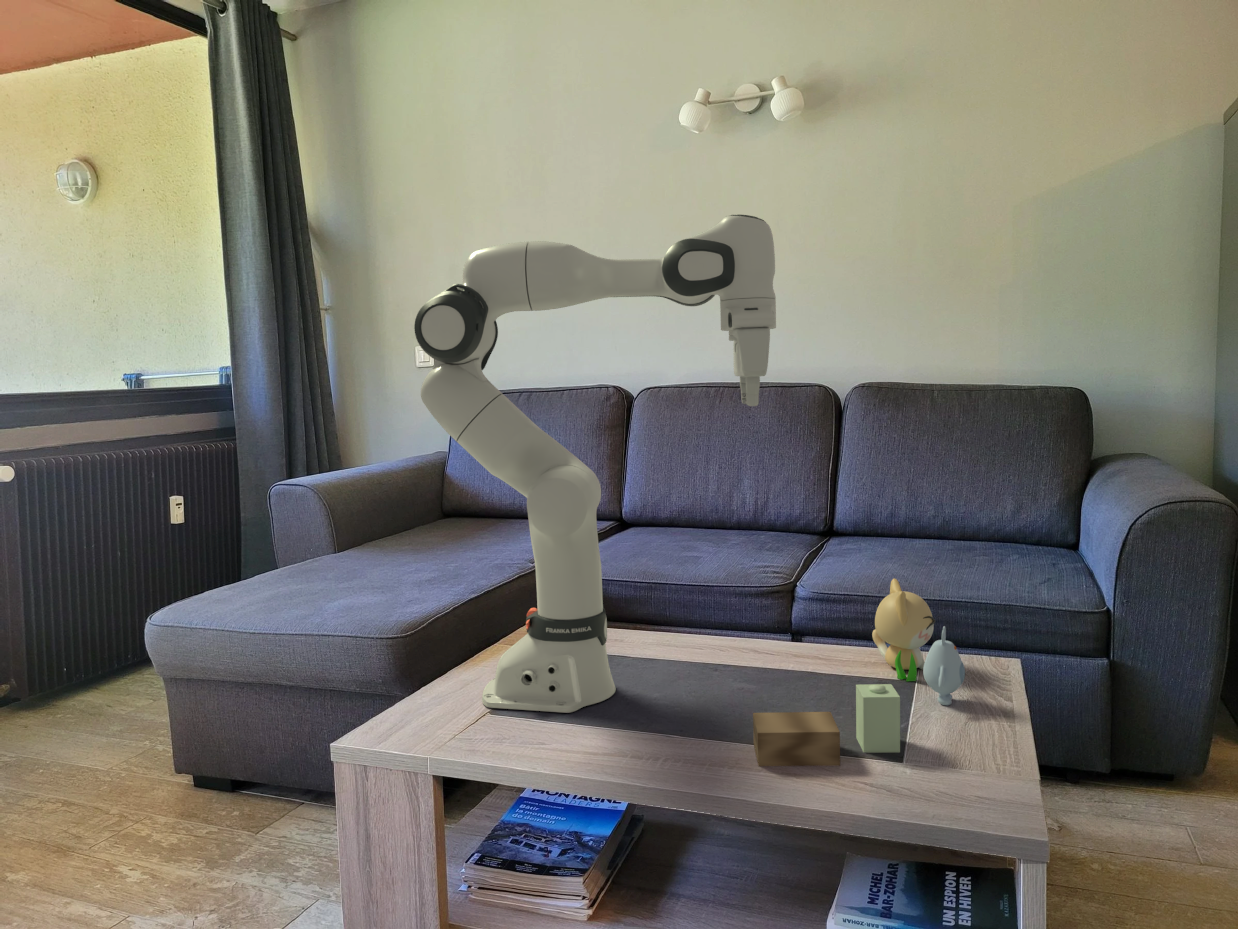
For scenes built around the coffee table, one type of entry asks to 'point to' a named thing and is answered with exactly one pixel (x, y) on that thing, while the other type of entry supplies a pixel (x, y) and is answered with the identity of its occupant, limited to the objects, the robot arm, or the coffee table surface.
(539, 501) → the robot arm
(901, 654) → the kitten
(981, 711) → the coffee table surface
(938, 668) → the toy figure
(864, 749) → the green brick
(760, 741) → the base brick
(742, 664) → the coffee table surface
